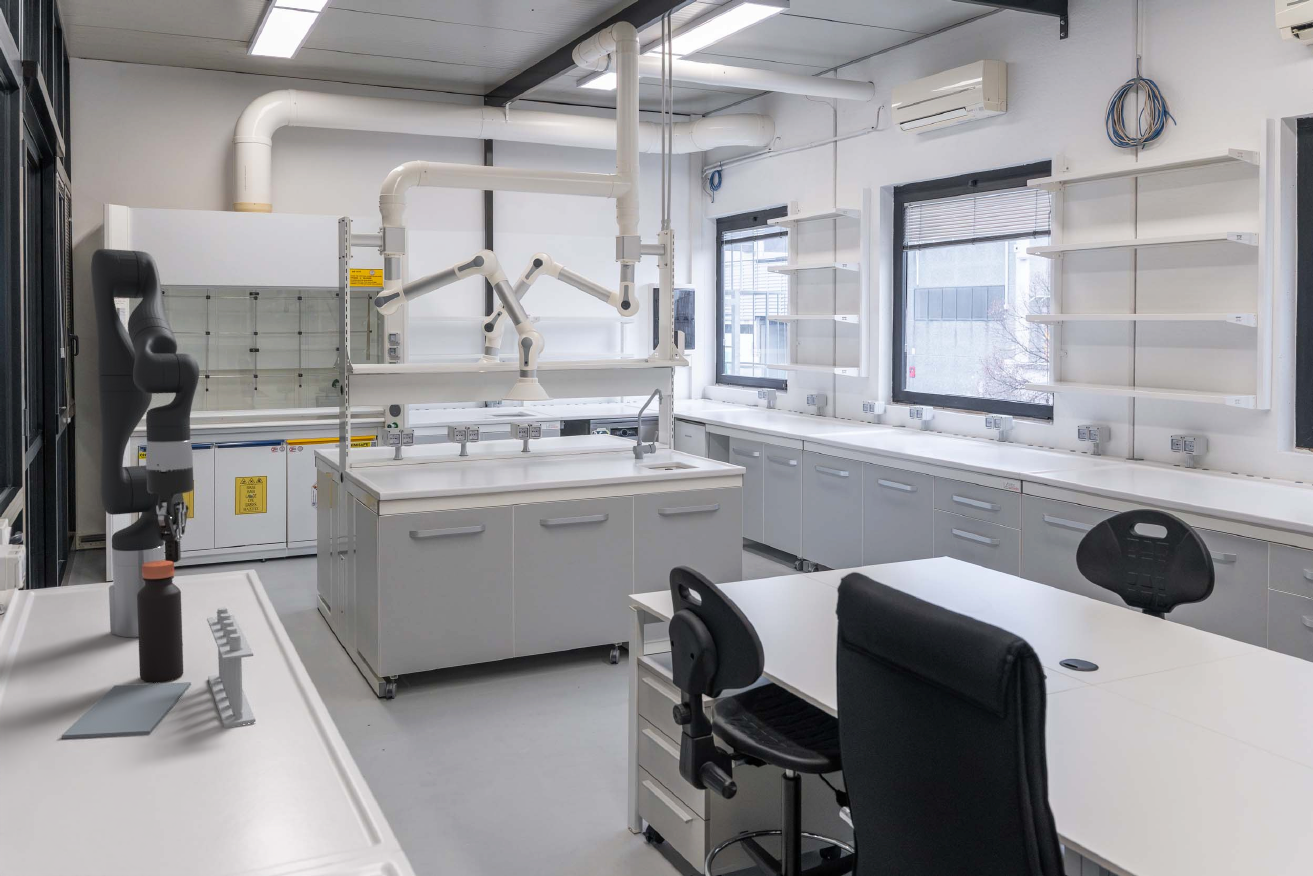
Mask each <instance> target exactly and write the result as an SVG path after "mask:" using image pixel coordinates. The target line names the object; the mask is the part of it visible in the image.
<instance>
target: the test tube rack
mask: <svg viewBox="0 0 1313 876" xmlns="http://www.w3.org/2000/svg"><path fill="white" fill-rule="evenodd" d="M216 615H217V616H211V617H206V621H207V623H208V626H209V628H210V630H211V633H212V635H213V639H214V641H215V643H216V647H217V651H218V653H217V654H218V656H217V657H218V674H213V675H208V676H207V678H208V684H209V686H210V689H211V691H212V694H213V698H214V702H215V704H216V706H217V710H218V714H219V717H220V719H221V721H222V725H223V728H224V729H228V728H227V727H230V728H234V727H233V726H236V727H239V726H238V725H242V726H244V725H243V724H248V723H254V722H256V718H255V715H254V712H253V710H252V708H251V705H250V703H249V701H248V698H247V695H246V694H245V691H244V688H243V668H242V667H243V666H242V663H243V662H242V658H249V657H254V652H253V651H252V648H251V646H250V644H249V643H248V640H247V638H246V636H245V635H244V633H243V630H242V628H241V626H240V624H239V622H238V621H237V618H236V616H235V614H231V613H229V610H228V607H226V606H225V607H219V608H218V607H217V611H216Z"/></svg>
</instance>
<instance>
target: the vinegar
mask: <svg viewBox="0 0 1313 876" xmlns="http://www.w3.org/2000/svg"><path fill="white" fill-rule="evenodd" d="M174 575H175V562H172V561H166V560H164V561H152V562H147V563H144V564H143V565H142V577H143V580H144V581H145V586H144V587H143V588H142V589H141V590H140V591H139V592H138V594H137V610H138V637H137V638H138V660H139V661H138V662H139V679H140V681H142V682H144V683H147V684H159V683H158V682H161V683H168V682H172V681H176V680H177V678H178V679H179V678H181V677H182V676H183V674H184V653H183V652H184V651H183V620H182V619H183V617H182V615H183V614H182V592H181V589H180V588H179V587H178V586H177V585H176V584H175V583H173V579H174V578H175V576H174ZM171 680H172V681H171ZM167 681H168V682H167ZM156 682H157V683H156Z"/></svg>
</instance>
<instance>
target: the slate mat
mask: <svg viewBox="0 0 1313 876" xmlns="http://www.w3.org/2000/svg"><path fill="white" fill-rule="evenodd" d="M190 685H191V686H192V682H191V681H187V682H186V681H185V682H161V683H143V684H141V683H140V684H120V685H119V684H117V685H114V686H112V687H111V688H110V689H108V691H107V692H106V693H105V694H104V695H102V696H101V698H100V699H98V700H97V701H96V702H95V703H94V704H93V705H92V706H91V707H90V708H89V709H88V710H86V712H84V713H83V714H82V715H81V717H79V718H78V719H77V720H76V721H75V722H74V723H73V724H72V725H70V727H69V728H68V729H67V730H66V731H64V732H63V733H62V734H61V739H62V740H63V739H64V740H65V739H79V738H97V737H98V738H101V737H103V738H104V737H117V736H118V737H121V736H136V735H137V736H140V735H150V734H151V733H153V731H154V730H155V728H156V727H157V726H158V725H159V724H160V723H161V722H162V720H163V719H164V718H165V717H166V715H167V714H168V713H169V712H170V711H171V709H173V707H174V706H175V705H176V704H177V702H178V701H179V700H180V699H181V698H182V697H183V695H184V694H185V693H186V692H187V690H188V689H189V688H190V687H191V686H190ZM189 686H190V687H189ZM188 687H189V688H188ZM185 691H186V692H185ZM180 697H181V698H180ZM179 698H180V699H179Z"/></svg>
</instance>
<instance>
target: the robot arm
mask: <svg viewBox="0 0 1313 876" xmlns="http://www.w3.org/2000/svg"><path fill="white" fill-rule="evenodd" d="M90 273H91V285H92V294H93V295H92V296H93V303H94V311H95V313H94V314H95V319H96V321H95V322H96V333H97V375H98V376H97V380H98V381H97V382H98V387H97V388H98V399H99V409H100V410H99V411H100V427H101V455H100V457H101V458H100V496H101V497H100V498H101V504H102V507H103V509H104V511H105V512H106V514H109V515H112V516H113V515H115V516H117V515H126V514H129V515H130V514H137V513H141V515H140V517H139V518H138V519H137V520H136V521H135V522H133V523H132V524H130V525H128V526H127V527H124V528H122V529H120V530H117V531H115V533H113V534H112V537H111V555H112V556H111V557H112V580H113V584H112V585H109V587H108V603H109V631H110V634H112V635H113V634H114V635H115V636H117V637H123V638H138V610H137V594H138V592H139V591H140V590H141V589H142V588H143V587H144V586H145V581H144V580H143V577H142V565H143V564H144V563H147V562H152V561H172V562H174V563H178V562H180V561H181V559H182V556H181V555H182V554H181V553H182V552H181V540H182V539H183V535H185V531H186V526H187V525H186V524H187V518H188V512H189V506H188V504H186V503H187V502H186V501H185V500H184V499H185V498H184V495H183V494H186V493H187V494H188V493H190V492H192V491H193V490H194V489H195V487H194V485H195V484H194V463H193V462H194V460H193V459H194V458H193V448H192V447H193V446H192V442H191V441H192V440H191V412H192V406H193V401H194V396H195V394H196V390H197V387H198V383H199V377H200V367H199V364H198V362H197V360H196V359H195V358H194V357H193V356H192V355H191V354H188V353H177V351H178V343H177V340H176V337H175V335H174V332H173V329H172V327H171V325H170V323H169V320H168V318H167V314H166V307H165V303H164V302H165V300H164V295H163V289H162V284H161V279H160V274H159V269H158V266H157V263H156V261H155V259H154V257H153V255H151V254H150V253H149V252H145V251H140V250H127V249H114V248H113V249H111V248H109V249H108V248H98V249H96V250H95V251H94V252H93V254H92V255H91V265H90ZM116 298H117V299H141V300H140V302H139V304H137V306H135V308H134V309H133V310H132V312H131V314H130V315H129V318H128V321H127V329H126V327H125V326H124V324H123V322H122V320H121V318H120V316H119V313H118V309H117V307H116V302H115V299H116ZM153 394H175V395H174V398H173V400H172V401H171V402H170V403H168V404H164V405H162V406H161V405H160V406H155V407H153V408H150V409H149V406H150V405H151V402H152V399H153ZM145 415H146V416H145ZM144 416H145V425H146V450H145V465H132V466H123V465H124V455H125V452H126V448H127V445H128V443H129V440H130V438H131V435H132V434H133V432H134V430H135V429H136V428H137V426H138V425H139V423H140V422H141V420H142V419H143V417H144Z"/></svg>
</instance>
